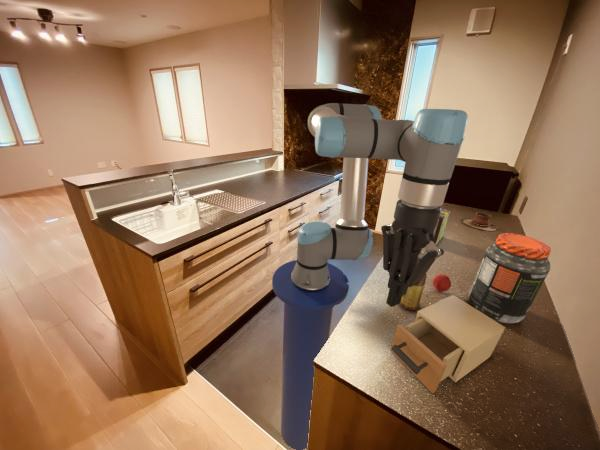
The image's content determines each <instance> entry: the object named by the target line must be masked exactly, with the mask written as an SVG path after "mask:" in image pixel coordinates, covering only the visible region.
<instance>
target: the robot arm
mask: <svg viewBox="0 0 600 450" xmlns="http://www.w3.org/2000/svg"><path fill="white" fill-rule="evenodd" d="M468 119H469V116H468V113H467V112H466V111H465V110H463V109H448V108H422V109H419V111H417V113H416V115H415V117H414V120H410V119H385V118H383V117H382V113H381V111H380V109H379V108H378V107H377V106H376V105H371V104H365V103H363V104H360V103H359V104H358V103H357V104H356V103H355V104H354V103H339V102H331V103H325V104H321V105H319V106H316V107H315V108H313V110H311V112H310V113H309V115H308V118H307V128H308V131H309V133H310V134H311V135H312V136H313V137H314V148H315V154H317V155H318V156H320V157H327V158H331V159H335V158H343V160H342V161H343V162H342V163H343V164H342V176H341V177H342V180H341V194H340V195H341V196H340V197H341V198H340V213H339V219H338V220H337V221H336V222H335V225H334V226H335V227H332V226H331V224H329V223H327V222H323V221H311V222H307V223H305V224H303V225H302V226H300V227H299V229H298V234H297V238H296V241H297V242H296V243H297V247H296V248H297V250H296V260H297V262H296V265H295V267H294V270H293V271H292V274H291V281H292V283H293V285H294V286H295V287H296V288H298V289H300V290H302V291H306V292H319V291H322V290H324V289H326V288H327V287H328V286H329V284H330V274H329V270H328V266H327V263H328V260H337V261H338V260H340V261H341V260H342V261H343V260H344V261H345V260H347V261H349V260H350V261H358V260H360V261H361V260H365V259H366V258H368V256H370V255H371V252H372V249H373V245H374V237H373V235H374V233H373V231H372V229H371V228H369V224H368V223H367V221H366V220H365V212H366V199H367V198H366V197H367V184H368V170H369V159H371V160H391V161H392V160H393V161H396V160H397V161H401V162H405V163H404V168H403V172H402V177H401V180H400V184H399V185H400V186H399V189H398V194H397V198H398V200H397V201H396V205H395V209H394V212H393V221H392V223H389V224H383V225H381V227H380V230H381V234H382V267H383V268H382V269H383V270H384V271H387V273H388V277H389V278H388V281H387V288H388V289H389V290H388V294H387V297H386V301H385V303H386V304H387V306H389V307H390V308H393V307H396V306H398V305H401V304H400V302H401V298H402V296H404V295H406V293H407V290H408V287H412V286H415V285H417V284H419V283H420V282H421V280H422V279H423V277H424V276H425V274H426V275H427V273H428V271H429V270H430V269H431V267H432V266H433V264H434V262H435V261H436V259H438V258H439V257H441V256H443V255H444V254H445V250H444V249H443V248H441V247H439V248H438V246H437V244H436V245H435V243H434V242H433V241H434V229H435V227H436V225H437V222H438V219H439V216H440V213H441V209H442V208H441V206H443V204H444V202H445V198H446V195H447V192H448V189H449V185H450V182H451V178H452V176H453V173H454V170H455V166H456V163H457V160H458V157H459V154H460V151H461V149H462V148H461V147H462V144H463V142H464V140H465V131H466V128H467V123H468ZM424 248H425V250H424V252H423V253H424V254H425V255H424V256H423V257H422V259H421V260H420V262H419V263H418V265H417V267H416V268H415V266H416V262H417V259H418V255H419V254H420V253H422V250H423V249H424Z"/></svg>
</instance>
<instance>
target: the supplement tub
mask: <svg viewBox="0 0 600 450" xmlns="http://www.w3.org/2000/svg"><path fill="white" fill-rule="evenodd" d="M551 251H552V248H551V246H550V245H548V244H547V243H545V242H543V241H541V240H540V239H536V238H533V237H531V236H528V235H524V234H519V233H513V232H512V233H511V232H504V233H503V232H502V233H500V234H498V237H497V238H496V239H495V242H494V243H492V244H490V245H488V247H486V249H485V251H484V254H483V256H482V259H481V261H480V264H479V267H478V269H477V272H476V274H475V276H474V279H473V282H472V285H471V287H470V289H469V292H468V301H469V303H470V304H471V306H472V307H473V308H475V309H477V310H478V311H480V312H481V313H483V314H485V315H486V316H488V317H489V318H491V319H493V320H494V321H496V322H498V323H504V324H516V323H517V324H518V323H520V322H522V321H523V320H524V319H525V318H526V316H527V314H528V313H529V310H530V309H531V307H532V305H533V303H534V301H535V299H536V297H537V295H538V293H539V291H540V290H541V288H542V286H543V284H544V282H545V280H546V278H547V276H548V274H549V273H550V270H551V262H550V260H549V257H550V255H551V254H550V253H551Z"/></svg>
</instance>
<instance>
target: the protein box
mask: <svg viewBox="0 0 600 450" xmlns="http://www.w3.org/2000/svg"><path fill="white" fill-rule="evenodd" d="M450 213H451V210H448V209H444V208H441V213H440V216H439V219H438V222H437V225H436V227H435V229H434V241H433V242H434V243H435V245H436V246H437V244H439V242H440V241H441V240H442V238H443V236H444V232H445V229H446V226H447V222H448V220H449V216H450Z"/></svg>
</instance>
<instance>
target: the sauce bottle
mask: <svg viewBox="0 0 600 450" xmlns="http://www.w3.org/2000/svg"><path fill="white" fill-rule="evenodd" d="M424 255H425V254H424V252H421V253H420V254H419V255H418V259H417V262H416V266H415V268H416V267H417V265H418V263H419V262H420V260H421V259H422V257H423V256H424ZM427 275H428V274H427V273H426V274H425V276H424V277H423V279H422V280H421V282H420V283H419V284H417V285H415V286H412V287H408V290H407V293H406V295H404V296H402V298H401V302H400V304H399V305H401V307H402V308H403V309H406V310H409V311H415V310H417V309H419V305H420V303H421V300H422V296H423V292H424V289H425V286H426V281H427V277H428V276H427Z"/></svg>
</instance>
